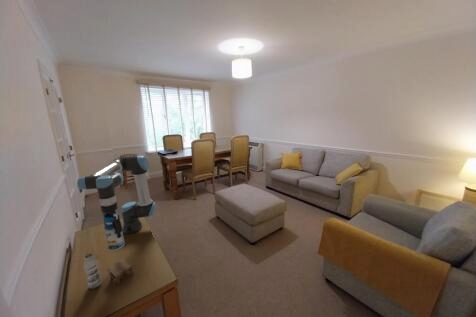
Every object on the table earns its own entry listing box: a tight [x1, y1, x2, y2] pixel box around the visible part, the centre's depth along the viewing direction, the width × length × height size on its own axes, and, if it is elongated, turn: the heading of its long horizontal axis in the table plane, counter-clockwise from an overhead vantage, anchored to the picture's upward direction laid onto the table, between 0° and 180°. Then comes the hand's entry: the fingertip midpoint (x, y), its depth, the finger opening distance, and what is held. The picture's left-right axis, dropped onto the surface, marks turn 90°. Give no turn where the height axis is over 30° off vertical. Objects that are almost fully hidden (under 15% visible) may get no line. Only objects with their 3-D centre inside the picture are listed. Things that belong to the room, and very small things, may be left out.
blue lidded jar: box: [103, 212, 126, 251], centre depth 112 cm, size 8×8×20 cm
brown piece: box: [106, 257, 134, 286], centre depth 118 cm, size 10×10×7 cm
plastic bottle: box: [83, 253, 103, 290], centre depth 111 cm, size 6×7×20 cm
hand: (115, 239), depth 114 cm, fingers closed on blue lidded jar, 8 cm apart
